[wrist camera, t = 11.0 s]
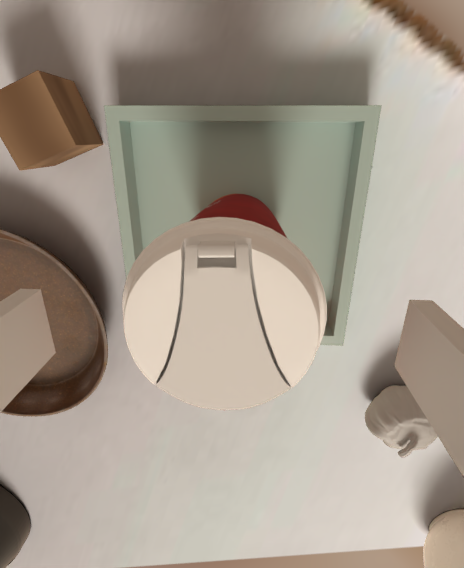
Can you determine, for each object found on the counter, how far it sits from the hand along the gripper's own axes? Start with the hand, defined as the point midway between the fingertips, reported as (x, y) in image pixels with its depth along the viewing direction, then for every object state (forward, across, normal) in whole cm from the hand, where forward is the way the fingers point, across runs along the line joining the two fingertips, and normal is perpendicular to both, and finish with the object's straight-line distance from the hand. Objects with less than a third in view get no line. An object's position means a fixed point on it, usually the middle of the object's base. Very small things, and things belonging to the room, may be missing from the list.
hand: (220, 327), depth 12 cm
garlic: (+14, -14, +15) cm, 25 cm away
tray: (+14, 0, 0) cm, 14 cm away
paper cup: (+13, 0, 0) cm, 13 cm away
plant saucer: (+14, +19, +8) cm, 25 cm away
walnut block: (+14, +12, -7) cm, 20 cm away
